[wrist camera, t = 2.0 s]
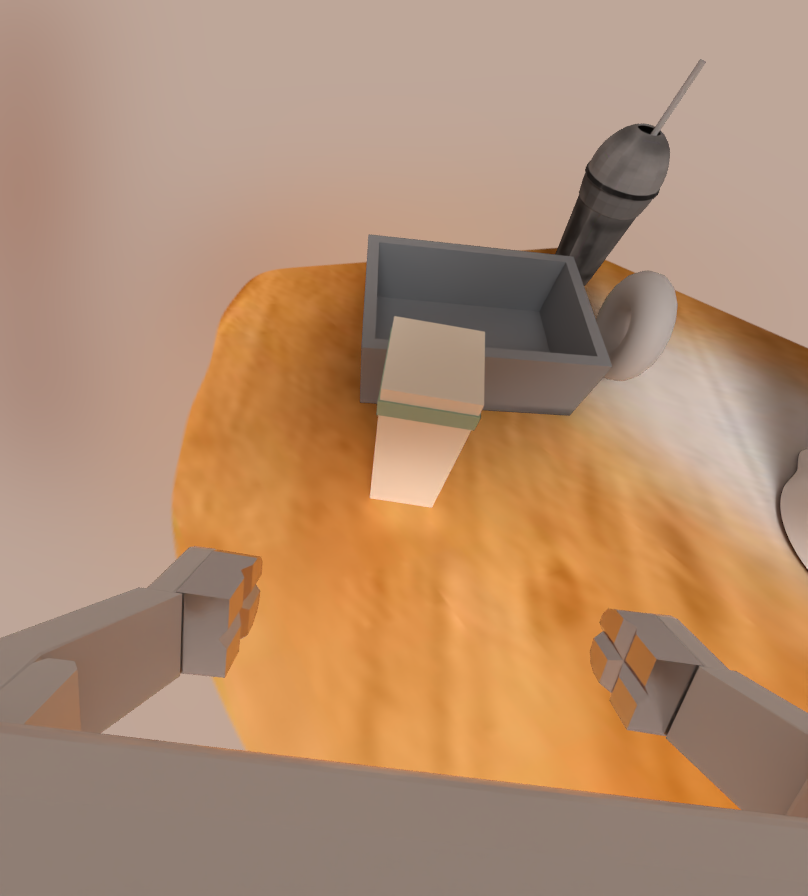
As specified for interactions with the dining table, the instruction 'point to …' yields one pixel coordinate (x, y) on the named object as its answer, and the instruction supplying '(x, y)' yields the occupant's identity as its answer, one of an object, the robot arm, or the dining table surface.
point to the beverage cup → (617, 189)
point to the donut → (637, 323)
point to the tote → (489, 318)
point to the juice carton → (425, 408)
